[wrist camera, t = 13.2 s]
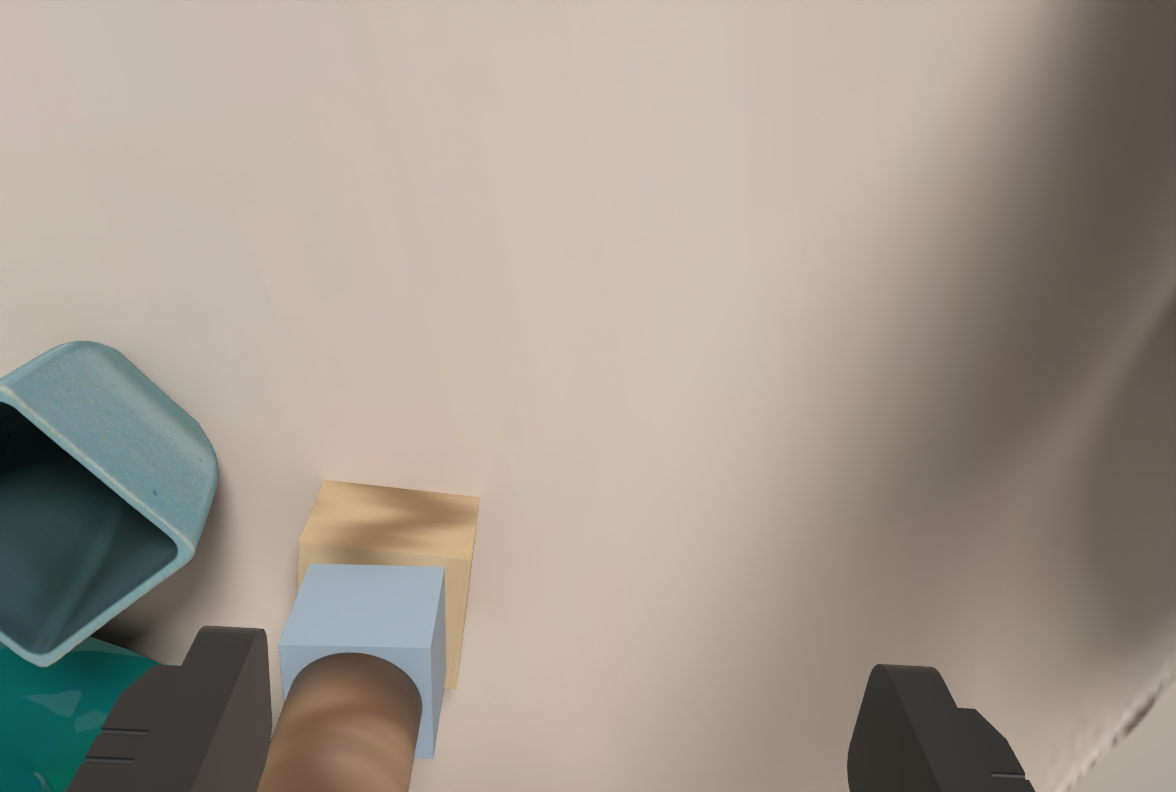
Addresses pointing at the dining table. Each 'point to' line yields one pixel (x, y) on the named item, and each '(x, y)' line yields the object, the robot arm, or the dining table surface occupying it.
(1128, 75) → the dining table surface
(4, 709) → the sailing ship model
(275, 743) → the brown rounded cylinder
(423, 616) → the mid block
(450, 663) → the base block
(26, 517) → the flower pot
